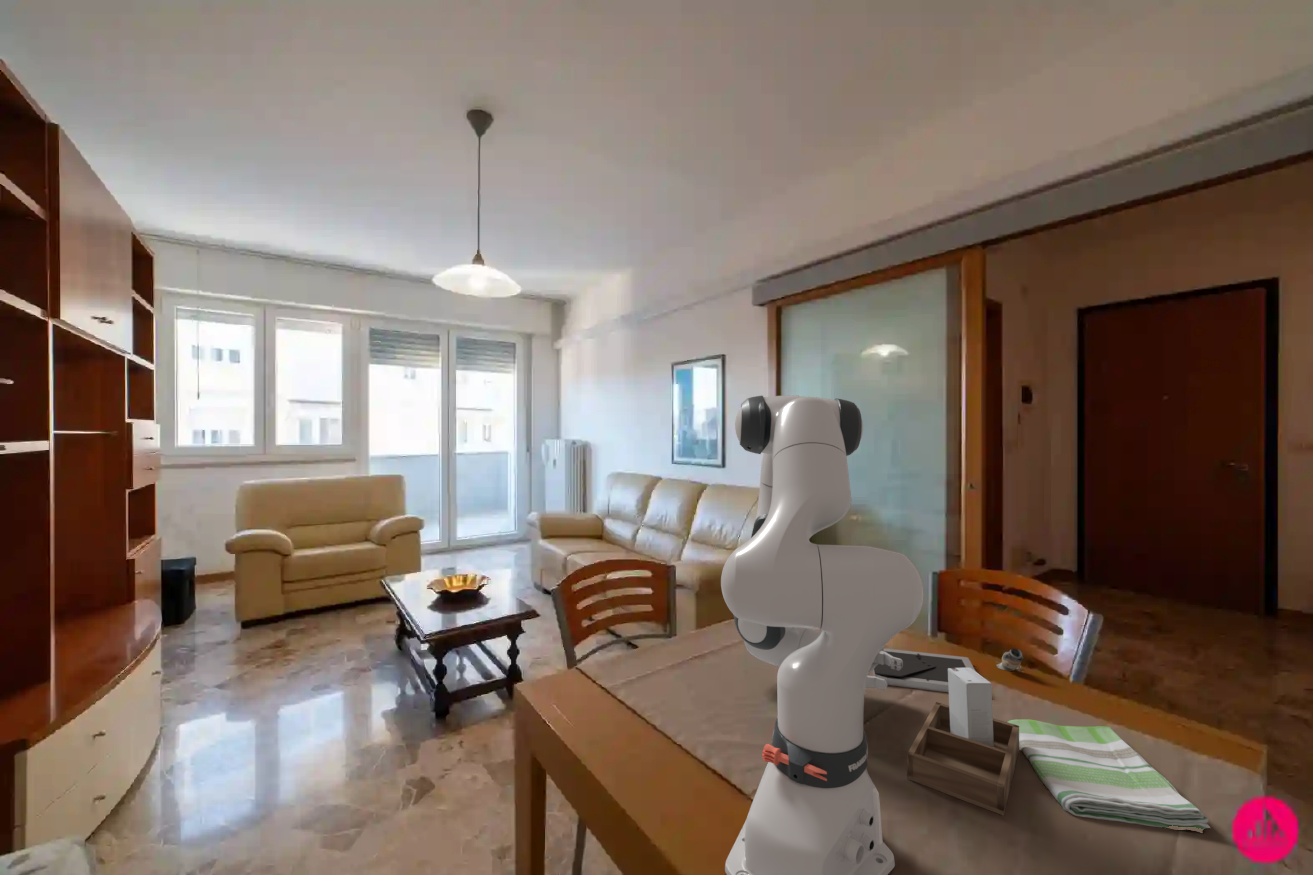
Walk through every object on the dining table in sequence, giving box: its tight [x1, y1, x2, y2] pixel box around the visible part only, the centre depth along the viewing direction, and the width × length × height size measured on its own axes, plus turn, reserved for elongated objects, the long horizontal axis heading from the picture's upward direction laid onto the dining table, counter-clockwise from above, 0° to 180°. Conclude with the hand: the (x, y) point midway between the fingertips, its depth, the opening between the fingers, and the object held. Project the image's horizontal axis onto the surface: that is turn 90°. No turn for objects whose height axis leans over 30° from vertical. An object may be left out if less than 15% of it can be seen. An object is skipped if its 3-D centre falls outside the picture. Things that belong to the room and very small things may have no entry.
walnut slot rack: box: [906, 701, 1020, 816], centre depth 86 cm, size 19×13×4 cm, turn 140°
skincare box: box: [948, 668, 994, 747], centre depth 89 cm, size 6×4×12 cm
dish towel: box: [1006, 718, 1211, 829], centre depth 83 cm, size 17×23×4 cm
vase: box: [995, 648, 1024, 672], centre depth 116 cm, size 5×5×6 cm
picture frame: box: [872, 647, 977, 693], centre depth 117 cm, size 16×3×21 cm
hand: (894, 674), depth 97 cm, fingers open, 8 cm apart
